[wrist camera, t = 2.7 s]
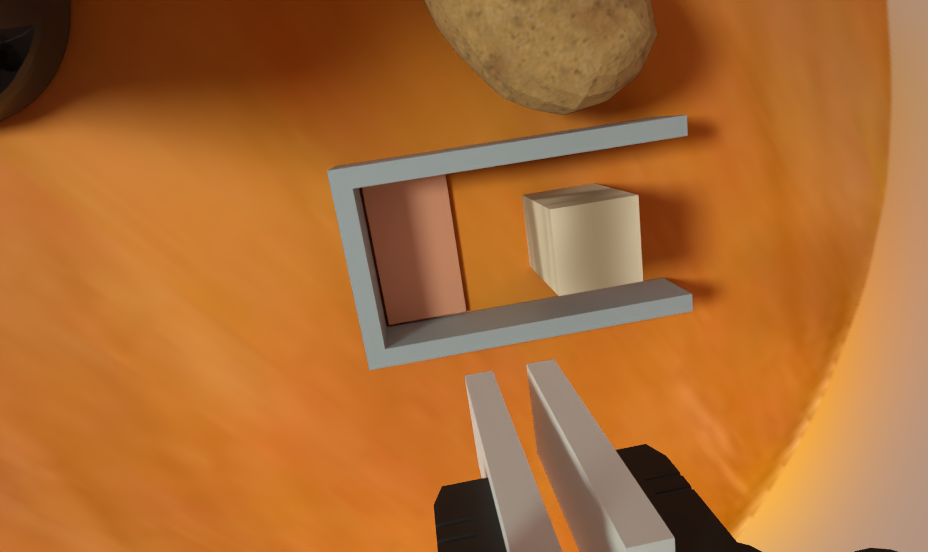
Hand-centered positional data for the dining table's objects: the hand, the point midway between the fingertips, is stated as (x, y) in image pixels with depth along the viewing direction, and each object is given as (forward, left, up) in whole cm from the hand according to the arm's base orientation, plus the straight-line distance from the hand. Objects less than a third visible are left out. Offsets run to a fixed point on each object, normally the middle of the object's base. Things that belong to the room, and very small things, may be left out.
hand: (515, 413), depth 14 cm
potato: (+6, +13, -23) cm, 27 cm away
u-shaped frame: (+5, 0, -22) cm, 23 cm away
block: (+8, 0, -23) cm, 24 cm away
